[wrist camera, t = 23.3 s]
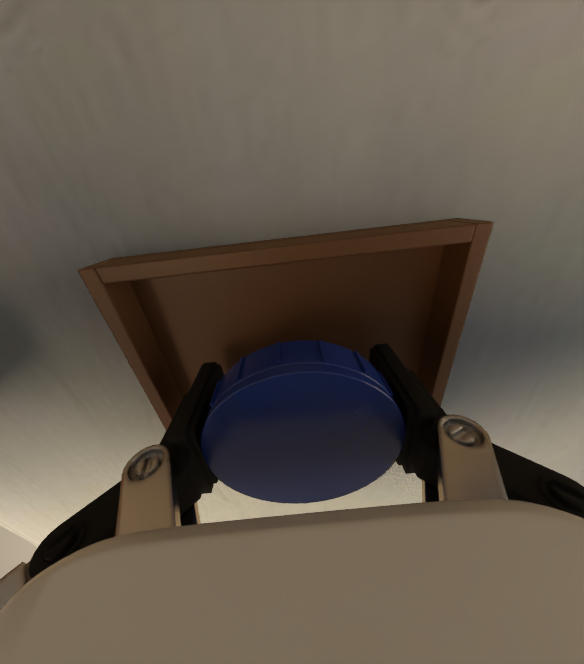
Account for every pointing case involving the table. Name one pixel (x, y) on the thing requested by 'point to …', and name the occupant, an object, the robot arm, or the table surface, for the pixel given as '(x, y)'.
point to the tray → (293, 300)
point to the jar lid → (301, 423)
